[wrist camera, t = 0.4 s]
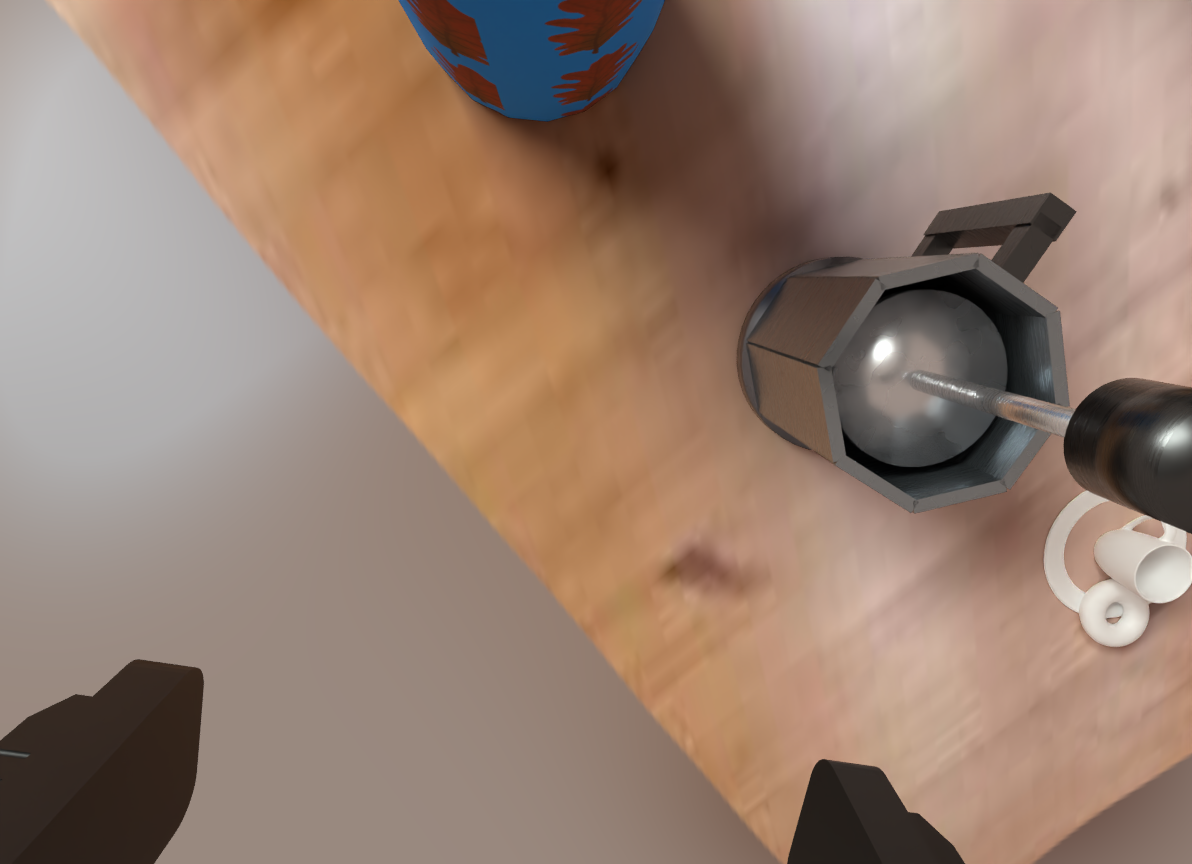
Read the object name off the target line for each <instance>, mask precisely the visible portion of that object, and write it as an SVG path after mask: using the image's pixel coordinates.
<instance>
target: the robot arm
mask: <svg viewBox="0 0 1192 864" xmlns="http://www.w3.org/2000/svg"><path fill="white" fill-rule="evenodd" d="M203 685H204V680H203V674H202V671H201V670H200V669H199V668H195V667H188V666H181V665H174V664H167V663H160V662H153V661H146V660H140V659H138V660H134V661H132V662H130V663H129V664H128V665H126V666H125V667H124V668H123V669H122V670H121V671H120V672H119V673H118V674H117V675H116V676H114V677H113V678H112V679H111V680H110V681H109V682H108V683H107V684H106V685H105V686H104V687H103V688H101V689H100V690H99V691H98V692H97V693H96V694H95V695H94V696H93V697H91V696H84V695H77V694H75V695H73V696H71V697H69V698H67V699H65V700H63V701H61V702H59V703H57V704H54V705H52V706H50V707H48V708H46V709H44V710H42V711H40V712H38V713H36V714H34V715H32V716H29V717H28V718H26V719H25V720H24V721H23V722H22V723H21V724H19V725H18V726H17V727H16V728H15V729H14V730H12V731H11V732H10V733H9V734H8V735H6V736H5V737H4V738H3V739H2V740H1V741H0V864H154V863H155V861H156V860H157V859H158V857H159V856H160V854H161V853H162V851H163V850H164V848H165V847H166V845H167V844H168V842H169V841H170V840H171V838H172V837H173V835H174V834H175V832H176V831H177V829H178V827H179V826H180V824H181V822H182V820H183V818H184V815H185V813H186V811H187V808H188V806H189V803H190V800H191V797H192V794H193V790H194V786H195V781H196V773H197V762H198V750H199V738H200V725H201V713H202V700H203V687H204V686H203ZM787 864H965V863H964V861H963V860H962V858H961V857H960V855H959V854H958V852H957V851H956V849H955V847H954V846H953V845H952V844H951V843H950V842H949V841H948V840H947V839H946V838H944V837H943V836H942V835H941V834H940V833H939V832H938V831H937V830H936V829H935V828H934V827H933V826H931V825H930V824H929V823H928V822H927V821H926V820H925V819H924V818H923V817H922V816H921V815H920V814H918V813H910V812H908V811H907V810H906V808H905V806H904V805H903V803H902V802H901V800H900V798H899V797H898V795H897V793H896V792H895V790H894V788H893V787H892V785H891V783H890V782H889V780H888V779H887V777H886V775H885V774H884V772H883V771H882V770H881V769H880V768H878V767H874V766H867V765H860V764H853V763H846V762H839V761H832V760H825V759H822V760H819V761H818V762H817V763H816V765H815V767H814V769H813V771H812V774H811V777H810V781H809V784H808V788H807V791H806V795H805V799H804V802H803V806H802V809H801V813H800V817H799V820H798V824H797V827H796V831H795V835H794V838H793V842H792V845H791V849H790V853H789V857H788V863H787Z"/></svg>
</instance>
